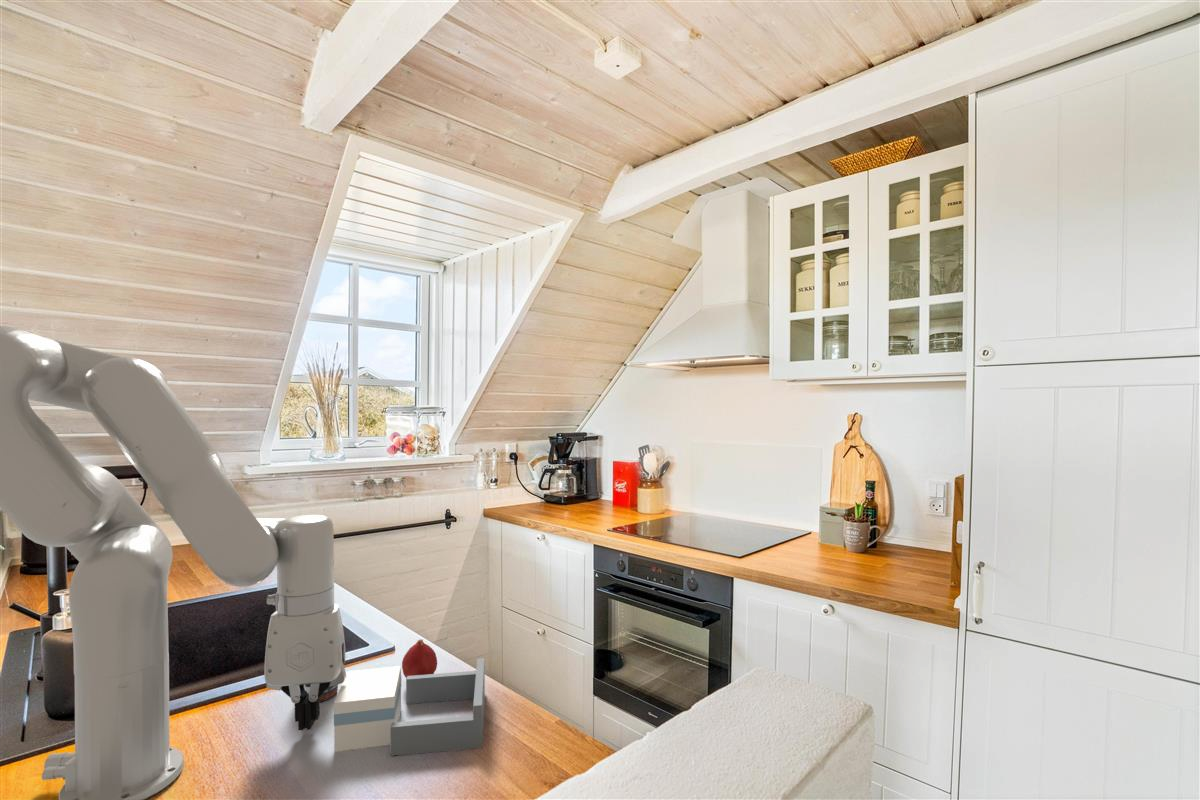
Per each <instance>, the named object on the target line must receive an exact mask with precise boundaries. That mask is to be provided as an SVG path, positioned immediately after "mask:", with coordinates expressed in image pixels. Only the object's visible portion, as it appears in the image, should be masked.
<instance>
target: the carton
mask: <svg viewBox="0 0 1200 800" xmlns="http://www.w3.org/2000/svg"><path fill="white" fill-rule="evenodd" d="M401 673H402V665H395V666H386V667H378V668H367V669H355V670H347V671H346V679H345V681H344V682H343V683H341V686H340V687H339V689H338V691H337V695H336V697H335V700H334V703H333V711H334V712H333V726H334V729H333V731H334V733H333V734H334V735H333V738H334V740H333V741H334V742H333V743H334V744H333V745H334V746H333V747H334V748H333V751H334V752H335V753H337V752H342V751H343V752H344V751H352V750H351V749H353V750H357V749H356V748H361V749H368V748H367V747H369V748H374V747H375V748H376V746H377V747H383V746H382V745H385V746H390V745H389V744H391V725H392V723H395V722H400V716H401V710H402V674H401ZM349 749H350V750H349Z"/></svg>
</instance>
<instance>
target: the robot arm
mask: <svg viewBox="0 0 1200 800" xmlns="http://www.w3.org/2000/svg"><path fill="white" fill-rule="evenodd" d="M30 401H35V402H39V403H44V404H49V405H54V406H56V407H57V406H58V407H63V408H66V409H72V410H76V411H80V412H81V411H82V412H87V413H91V414H92V415H93V417H94V418H95V419H96V421H97V422H98V423H99V424H100V425H101V426H102V428H103V429H104V431H105V432H106V433H107V434H108V435H109V437H110V438H111V439H112V440H113V442H114V443H115V444H116V445H117V446H118V448H119V449H120V450H121V452H123V454H124V455H125V457H126V459H128V460H129V461H130V463H131V464H132V466H133V467H134V468H135V469H136V471H137V472H138V473H139V474H140V476H141V477H142V479H143V480H144V481H145V483H146V484H147V485H148V487H150V490H151V491H152V493H153V495H154V497H155V498H156V499H157V501H158V502H159V503H160V504H161V506H162V507H163V508H164V509H165V511H166V512H167V513H168V515H169V516H170V518H171V520H172V521H173V522H174V524H175V526H176V527H177V528H178V529H179V531H180V532H181V534H182V535H183V536H184V538H185V539H186V541H187V542H188V543H189V545H190V546H191V547H192V548H193V550H194V551H195V552H196V553H197V555H198V556H199V557H200V559H202V561H203V562H204V563H205V564H206V566H207V567H208V568H209V570H211V571H212V573H213V574H214V575H215V576H216V578H218V579H219V580H220V581H222V582H223V583H225V584H227V585H229V586H232V587H238V588H245V587H246V588H247V587H252V586H254V585H257V584H259V583H261V582H263V581H264V580H265V579H267V578H268V577H269V576H270V575H271V574H272V573H273V572H274V570H275V568H276V581H277V583H276V585H277V586H276V588H277V591H276V592H275V593H274V594H268V595H267V597H266V604H267V605H272V606H275V611H274V612H273V613H272V614H271V615H270V617H269V622H268V623H269V624H268V629H267V636H266V645H265V653H264V655H265V656H264V669H263V670H264V671H263V672H264V674H263V675H264V682H265V684H266V688H267V689H268V690H274V691H282V692H283V693H284V694H285V695H286V696H288V698H290V700H291V702H292V703H293V704H294V722H295V723H297V724H298V727H297V729H298V731H304V730H306V731H307V730H309V731H310V730H311V729H312V727H313V726H314V724H315V722H316V721H318V720H319V718H320V715H321V714H320V713H321V707H320V704H321V701H320V695H321V694H322V693H323V692H324V691H325V690H326V689H327V688H328V687H330V686H335V685H338V686H339V685H340V684H341V685H342V683H343V682H344V681H345V679H346V673H347V671H346V669H345V664H346V644H345V633H344V625H343V619H342V614H341V611H340V607H339V604H338V603H335V560H334V559H335V558H334V557H335V552H334V551H335V550H334V549H335V547H334V544H335V541H334V537H335V536H334V523H333V521H332V519H331V518H330V517H329V516H327V515H323V514H304V515H302V514H301V515H295V516H291V517H287V518H263V517H257V516H255V515H254V513H253V511H251V509H250V508H249V507H248V505H247V504H246V503H245V501H244V499H243V498H242V497H241V495H240V494H239V493H238V491H237V489H236V488H235V486H234V485H233V483H232V481H231V479H230V477H229V476H228V474H227V471H226V469H225V467H224V464H223V461H222V460H221V459H222V458H221V457H220V455H219V454H218V452H217V450H216V448H215V447H214V445H213V444H212V443H211V442H210V441H211V440H209V439H208V438H207V436H206V435H205V433H204V432H203V431H202V429H201V428H200V427H199V426H198V424H197V423H196V422H195V421H194V419H193V417H192V416H191V415H190V413H188V411H187V410H186V408H185V407H184V406H183V404H182V403H181V401H180V400H179V399H178V397H177V396H176V395H175V393H174V392H173V390H172V388H170V386H169V383H168V381H167V378H166V377H165V375H164V374H163V373H162V371H161V370H160V369H159V368H157V367H156V366H155V365H154V364H151V363H149V362H147V361H145V360H142V359H140V358H137V357H136V358H135V357H130V356H119V355H115V354H112V353H107V352H103V351H99V350H95V349H91V348H87V347H84V346H80V345H75V344H72V343H68V342H64V341H61V340H58V339H54V338H52V337H51V338H50V337H47V336H43V335H39V334H37V333H34V332H33V333H32V332H29V331H26V330H24V329H20V328H17V327H10V326H6V325H0V509H1V511H2V512H3V513H4V514H5V515H6V516H7V517H8V519H9V520H10V521H11V522H12V523H13V524H14V526H15V527H16V528H17V529H18V530H19V532H20V533H22V534H23V535H24V537H25V538H27V539H28V540H30V541H32V542H33V543H35V544H39V545H42V546H44V547H50V548H60V547H61V548H62V547H65V549H67V550H68V551H69V552H70V553H71V555H72V556H73V557H74V559H76V560H77V561H78V564H77V565H76V566H75V569H74V571H73V573H72V576H71V580H70V584H69V587H68V588H69V589H68V604H69V605H68V606H69V613H70V622H71V623H70V624H71V629H72V631H71V632H72V643H73V646H72V647H73V649H72V650H73V675H74V752H60V753H59V752H58V753H57V752H55V753H50V754H49V755H48V756H47V757H46V759H45V762H44V766H43V768H44V769H43V771H42V773H41V780H43V781H46V780H49V781H50V780H56V779H61V778H62V780H63V781H64V785H62V787H61V789H60V790H59V793H58V800H147V799H148V798H151V797H152V796H153V795H157V793H159V792H160V791H162V790H164V789H165V788H167V787H168V786H169V785H170V784H172V783H173V782H174V781H175V780H176V779H177V778H178V777H179V775H180V774H181V773H182V771H183V769H184V765H185V759H184V754H183V753H182V751H181V750H180V749H178V748H176V747H172V746H171V745H170V742H171V741H170V653H169V618H168V617H169V613H168V612H169V611H168V582H169V574H170V572H171V571H170V570H171V566H172V562H173V554H174V552H173V548H172V547H173V546H172V544H171V541H170V540H169V538H168V537H167V535H166V533H165V532H164V531H163V530H162V529H161V527H160V526H159V525H158V524H157V523H156V521H154V519H153V518H152V517H151V516H150V515H149V513H148V512H147V511H146V510H145V509H144V507H143V506H142V505H141V504H140V503H139V501H137V499H136V498H135V497H134V496H133V494H132V493H131V492H130V491H129V490H128V489H127V487H126V486H125V485H124V484H123V483H122V482H121V480H119V479H118V478H117V477H116V476H115V475H114V474H113V473H111V472H110V471H109V470H107V469H105V468H103V467H101V466H99V465H95V464H91V463H84V462H80V461H79V460H78V458H76V457H75V456H74V455H73V453H71V451H70V450H69V449H68V448H67V447H66V446H65V445H64V444H63V443H62V442H61V440H60V439H59V436H58V435H57V434H56V433H55V432H54V430H52V429H51V427H50V426H48V425H47V424H46V422H44V420H43V419H41V418H40V417H39V416H38V415H37V413H36V412H35V411H34V410H33V408H32V407H31V405H30ZM305 684H311V685H310V692H309V693H307V691H306V687H305Z"/></svg>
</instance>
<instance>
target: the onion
mask: <svg viewBox="0 0 1200 800" xmlns="http://www.w3.org/2000/svg"><path fill="white" fill-rule="evenodd" d="M437 668H438V658H437V655H436V652H435V650H434V649H433V648H432V647H431V646H430V645H429V644H427V643H424V641H423V639H421V638H420V639H418V640H417V641H416V643H415V644H413V645H412V646H411V647H409V648H408V650H407V652H406V653H405V654H404V656H403V658H402V661H401V671H402V674H403V676H404V677H405V678H406V679H407V676H414V675H427V674H435V672H436V671H437Z"/></svg>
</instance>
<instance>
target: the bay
mask: <svg viewBox="0 0 1200 800" xmlns="http://www.w3.org/2000/svg"><path fill="white" fill-rule="evenodd" d="M485 663H486V662H485V658H484V657H481V658H476V669H475V670H472V671H471V670H468V671H457V672H454V671H453V672H444V673H434V674H427V675H414V676H407V678H406V679H405V687H406V689H405V693H406V694H405V696H406V697H405V699H406V701H405V705H413V704H423V703H424V704H425V703H436V702H447V701H448V702H449V701H459V700H471V699H473V703H472V704H473V705H472V706H473V707H472V708H473V710H472V713H473V715H465V716H463V715H462V716H454V717H453V716H451V717H441V718H440V717H439V718H431V719H419V720H407V721H399V722H395V723H392V725H391V745H390V757H395V756H394V755H398V756H405V754H408V755H416V754H418V755H419V754H427V753H438V752H447V751H448V752H449V751H458V750H467V749H468V750H470V749H478V748H483V739H484V737H483V736H484V735H483V734H484V716H485V715H484V714H485V698H486V697H485V695H486V694H485V692H486V690H485V687H486V686H485V681H486V679H485V677H486V676H485V675H486V674H485V671H486V670H485V665H486V664H485Z"/></svg>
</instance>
